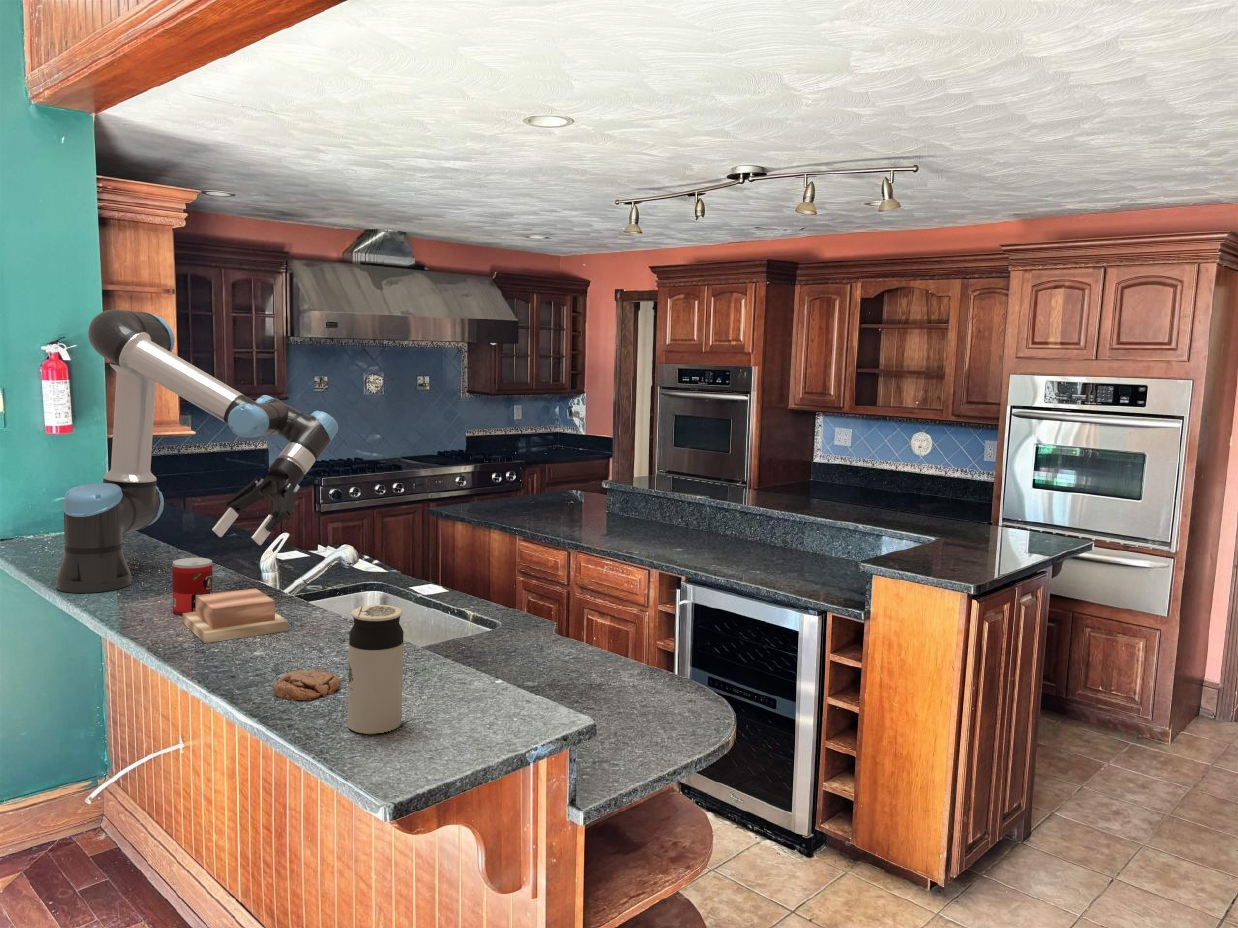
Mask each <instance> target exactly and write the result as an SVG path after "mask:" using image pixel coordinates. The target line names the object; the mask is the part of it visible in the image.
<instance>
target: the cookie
mask: <svg viewBox="0 0 1238 928" xmlns="http://www.w3.org/2000/svg"><path fill="white" fill-rule="evenodd" d="M340 683H341V681H340V678H338V676H337V675H336V674H334V673H331V672H329V671H322V670H320V669H313V670H311V669H310V670H292V671H289V672H287V673H286V674H284V675H283V676H281V678H280V679H279V680H278V681H276V682H275V683H273V691H274V695H275V696H276V697H277V696H278V698H279V697H282V698H281V699H284V698H288V699H294V700H293V701H296V700H307V701H311V700H310V699H312V700H315V699H317V698H318V697H319V698H321V697H322V696H323V697H322V698H325V697H327V696H332V695H333V694H335V692H337V691H339V690H340V685H341V684H340ZM338 689H339V690H338ZM336 690H337V691H336ZM326 695H327V696H326ZM319 698H318V699H319ZM288 699H287V700H288Z"/></svg>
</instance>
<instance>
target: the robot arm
mask: <svg viewBox="0 0 1238 928" xmlns="http://www.w3.org/2000/svg"><path fill="white" fill-rule="evenodd" d="M87 332H88V333H87V334H88V335H87V336H88V341H89V343H90V345H91V347H92V348H93V349H94V351H95V352H96V353H98V355H100V356H101V357H103V358H104V359H106V360H108V361H109V366H110V367H111V369H113V370H114V371H115V373H116V375H115V376H116V377H115V395H114V413H113V431H112V445H111V446H112V447H111V463H110V470H109V471H108V472H107V473H105V474H104V475H103V477H102V478H103V479H102V482H94V483H90V484H82V485H81V484H80V485H78V486H74V487H72V488H70V489H68V490H67V491H66V492H65V494H64V497H63V499H64V500H63V505H62V506H63V507H62V510H63V529H64V530H63V531H64V532H63V533H64V534H63V535H64V537H63V539H64V541H63V542H64V555H63V558H62V562H61V564H60V567H59V570H58V572H57V576H56V579H55V581H56V583H55V585H56V586H55V587H56V588H55V589H57V590H58V591H60V592H65V593H74V594H75V593H76V594H79V593H80V594H81V593H82V594H83V593H84V594H86V593H89V594H91V593H101V592H102V593H103V592H110V591H113V590H114V591H115V590H119V589H123V588H126V587H128V586H130V585H131V584H132V574H131V571H130V568H129V566H128V563H127V561H126V557H125V555H124V553H123V534H126V533H131V532H135V531H140V530H143V529H145V528H146V527H149V526H150V525H152V524H154V523H155V522H156V521H157V520H158V519H159V518H160V517H161V514H162V513H163V510H164V507H165V499H164V496H163V493H162V491H160V490H159V489H160V488H159V487H158V486H157V482H158V481H157V477H156V476H155V475H154V473H152V470H151V468H152V467H151V464H152V451H153V450H152V448H153V436H154V434H153V433H154V421H155V420H154V418H155V405H156V404H155V401H156V387H157V384H158V385H160V386H162V387H164V388H165V389H167V390H169V391H171V392H172V393H174V394H175V395H177V396H179V397H181V398H183V399H185V400H186V401H188V402H190V403H191V404H193V405H194V406H196V407H198V408H199V409H201V410H203V411H205V412H206V413H208V414H210V415H211V416H213V417H215V418H217V419H219V420H220V421H222V422H224V423H225V424H227V425H228V427H229V428H230V431H231V432H232V433H233V434H234V435H236V436H238V437H239V438H247V439H253V438H258V437H262V436H263V437H264V436H269V435H277V436H279V437H281V438H283V439H284V440H286V441H288V444H286V446H285V447H284V448H283V450H282V451H281V452H280V453H279V454H278V457H277V458H276V459H274V461H273V462H272V464H271V465H270V466H269V467H268V476H267V477H265V478H262V477H261V476H260V475H256V477H254V478H253V479H252V480H251V482H250V483H248V484H247V485H245V486H244V487H243V488H242V489H240V490H239V491H237V492H236V493H235V494H233V495H232V496H231V497H230V498H229V499H227V500H226V501H225V502H224V505H225V506H226V507H227V509H226V511H225V512H224V513H223V514H222V515H221V517H220V519H219V520H218V521H217V522H216V524H215V525H214V527H212V529H211V530H212V531H213V532H214V533H215V534H216V536H218V537H219V538H222V537H223V536H224V534H225V533H226V532H227V531H228V529H229V528H230V527H232V526H231V525H232V524H233V523H234V522H235V521H236V519H237V518H238V517H239V513H240V512H242V511H243V510H245V509H247V508H249V507H250V506H252V505H253V504H255V503H257V502H259V501H264V500H266V499H271V500H272V511H271V512H270V514H268V516H266V518H265V519H264V520H263V521H262V523H261V525H260V526H259V527H258V528H257V530H256V531H255V533H254V534H253V535H252V536H251V537H250V538H251V539H252V540H253V541H254V542H255V543H256V544H257V545H259V546H262V544H264V542H265V540H267V538H268V537H269V535H270V534H271V533H272V532H273V531H274V530H275V529H276V527H277V526H278V525H279V523H282V522H283V521H284V520H285V521H287V522H289V521H290V520H291V518H292V515H293V512H294V508H295V504H296V501H297V498H298V495H299V494H300V492H301V491H302V488H301V486H300V485H299V484H300V483H301V481H302V480H303V479H304V477H305V475H306V474H307V473H308V472H309V471H310V469H311V468H312V466H313V465H314V464H315V462H316V461H317V460H318V459H319V458H320V456H321V455H322V453H323V452H324V451H325V450H326V448H327V447H328V446H329V445H330V444H331V443H332V441H333V439H334V438H335V436H336V434H337V433H338V431H339V424H338V422H337V420H335V418H334V417H333V416H331V415H330V414H329V413H326V412H325V411H321V410H315V411H313V412H312V413H310V415H308V414H306V413H304V412H302V411H300V410H297V409H296V408H294V407H292V406H290V405H288V404H286V403H285V402H283V401H281V400H280V399H279V398H274V397H272V396H270V395H267V394H263V395H261V396H260V397H258V398H256V400H253V399H252V398H250V397H248V396H245V395H244V394H243V393H241V392H240V391H239V390H236V389H234V388H232V387H231V386H229V385H227V384H226V383H224V382H223V381H221V380H219V379H217V378H215V377H214V376H213V375H211V374H209V373H207V372H205V371H204V370H202V369H200V368H198V367H197V366H195V365H193V364H191V363H190V362H189V361H186V360H184V358H182V357H179V356H177V355H176V354H174V353H173V349H174V347H175V342H176V341H175V333H174V331H173V329H172V327H171V326H170V325H169V324H168V322H167V320H166V319H164V318H163V317H160V316H159V315H156V314H154V313H150V312H145V311H134V310H124V309H116V308H113V309H107V310H104V311H102V312H100V313H98V314H97V315H96V316H95V317H94V318H92V320H91V322H90V323H89V326H88V331H87Z"/></svg>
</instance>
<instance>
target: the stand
mask: <svg viewBox="0 0 1238 928" xmlns="http://www.w3.org/2000/svg"><path fill="white" fill-rule="evenodd" d="M182 624H183V625H184V626H186V627H187V628H188V630H190V631H191V632H192V633H193V634H194V635H195V636H196V637H197V638H199V639H200V641H202V642H203V643H204V644H208V643H209V644H210V643H216V642H222V641H229V640H236V639H243V638H248V637H255V636H262V635H263V636H264V635H268V634H270V635H271V634H276V633H282V632H288V631H289V621H288V620H287V619H286V618H285V617H283V616H282V615H280V614H278V613H277V612H276V600H275V599H272V598H271V597H270V596H268V595H267V594H265V593H263V592H262V591H261V590H259V589H258V588H255V587H254V588H249V589H248V588H246V589H238V590H229V591H223V592H212V594H203V595H196V612H190V613H183V615H182Z"/></svg>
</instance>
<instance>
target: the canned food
mask: <svg viewBox="0 0 1238 928" xmlns="http://www.w3.org/2000/svg"><path fill="white" fill-rule="evenodd" d="M171 566H172V568H171V569H172V570H171V573H172V574H171V576H172V577H171V578H172V584H171V585H172V611H173V613H174V614H175V615H178V616H183V613H190V612H196V595H203V594H212V593H213V560H212V559H210V558H205V557H185V558H184V557H183V558H179V559H175V560H173V561H172V565H171Z"/></svg>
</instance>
